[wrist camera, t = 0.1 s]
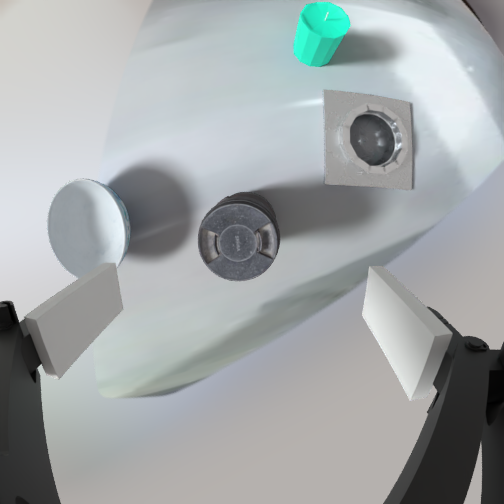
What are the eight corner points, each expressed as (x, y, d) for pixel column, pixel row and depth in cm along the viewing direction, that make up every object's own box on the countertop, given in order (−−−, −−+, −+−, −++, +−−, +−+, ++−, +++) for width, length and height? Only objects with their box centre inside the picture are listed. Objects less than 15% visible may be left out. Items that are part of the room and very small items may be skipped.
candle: (335, 41, 32) (356, 3, 21) (329, 71, 34) (350, 39, 23) (297, 30, 32) (306, -11, 21) (289, 61, 34) (297, 23, 23)
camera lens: (226, 249, 42) (205, 289, 28) (214, 196, 40) (186, 209, 26) (280, 240, 42) (286, 276, 27) (270, 185, 39) (272, 192, 25)
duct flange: (322, 91, 35) (326, 85, 32) (407, 103, 34) (416, 99, 31) (324, 184, 39) (328, 185, 36) (409, 189, 38) (418, 191, 35)
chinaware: (69, 247, 44) (43, 260, 36) (84, 166, 40) (55, 168, 32) (136, 278, 45) (115, 297, 37) (158, 191, 40) (136, 196, 33)
